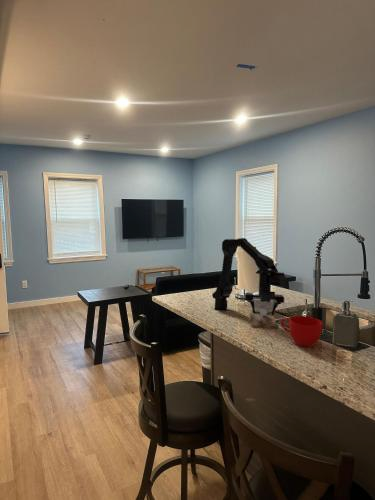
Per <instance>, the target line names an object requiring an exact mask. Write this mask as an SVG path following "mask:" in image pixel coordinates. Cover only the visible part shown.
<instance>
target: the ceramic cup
mask: <svg viewBox="0 0 375 500" xmlns="http://www.w3.org/2000/svg"><path fill="white" fill-rule="evenodd" d="M284 321H286V322H287V323H288V325H289V328H287V327H286V326H285V324H284ZM280 324H281V327H282V329H284V331H286V332H288V333H289V334H290V336H291V338H292V340H293V341H294V343H295V345H297V346H299V345H300V346H299V347H302V346H304V347H303V348H311V347H310V346H312V347H313V346H314V345H316V343H317V342H318V341H319V340H320V338H321V335H322V332H323V325H324V324H323V321H322V320H320V319H318V318H315V317H311V316H306V315H305V316H304V315H294V316H291V317H290V318H289V319H288V318H282V319H281V321H280Z"/></svg>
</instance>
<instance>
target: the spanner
mask: <svg viewBox="0 0 375 500" xmlns="http://www.w3.org/2000/svg"><path fill="white" fill-rule="evenodd" d="M259 314H260V320H259V322H261V323H262V320H263V318H266V317H267V314H268V313H267V309H260V313H259Z"/></svg>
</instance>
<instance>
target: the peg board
mask: <svg viewBox="0 0 375 500" xmlns="http://www.w3.org/2000/svg"><path fill="white" fill-rule="evenodd" d="M249 317H250V325H251V327H252V328H260V329H261V328H262V329H275V330H278V329H279V327H278V326H279V325H278V323H277V321H276V318H275V315H274V314H273V315H272V314H269V313H267V317H266V318H263V320H262V323H261V322H259V320H260V313H255V314H254V313H251V312H250V313H249Z"/></svg>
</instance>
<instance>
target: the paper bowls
mask: <svg viewBox="0 0 375 500" xmlns="http://www.w3.org/2000/svg"><path fill="white" fill-rule="evenodd" d="M273 302H274V300H271V301H270V302H265V301H264V302H261V301H260V299H254V308H255V313H257V314H260V309H267V314H269V313H272V309H273ZM248 306H249V307H251V308H252V306H251V303H250V302H248Z"/></svg>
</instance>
